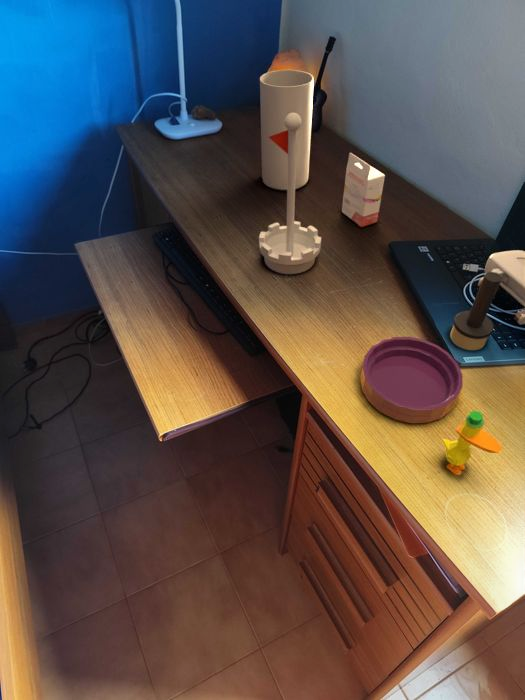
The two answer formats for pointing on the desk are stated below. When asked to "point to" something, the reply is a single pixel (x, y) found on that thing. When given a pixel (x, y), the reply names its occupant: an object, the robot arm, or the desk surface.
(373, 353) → the plum bowl
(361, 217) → the ink cartridge box
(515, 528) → the desk surface
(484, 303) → the dish brush
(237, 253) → the desk surface
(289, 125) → the flag stand
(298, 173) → the cylinder vase
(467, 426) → the toy figure
